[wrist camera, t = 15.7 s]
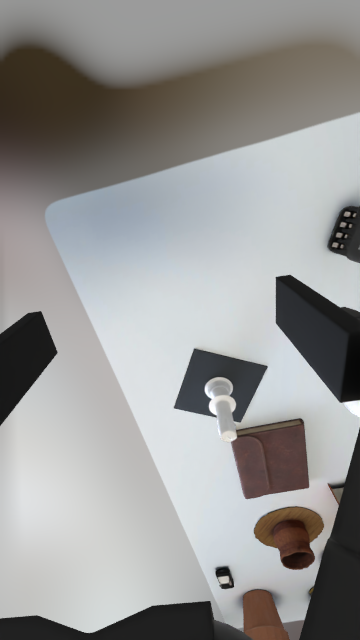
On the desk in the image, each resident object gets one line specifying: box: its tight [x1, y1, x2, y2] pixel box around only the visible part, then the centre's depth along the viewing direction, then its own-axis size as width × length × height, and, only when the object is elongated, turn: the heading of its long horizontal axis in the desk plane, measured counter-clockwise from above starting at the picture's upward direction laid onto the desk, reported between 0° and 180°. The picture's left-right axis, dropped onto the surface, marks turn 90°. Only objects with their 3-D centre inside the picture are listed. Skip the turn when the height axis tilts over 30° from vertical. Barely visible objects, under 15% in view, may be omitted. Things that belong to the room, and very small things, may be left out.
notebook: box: [231, 419, 309, 499], centre depth 57 cm, size 15×20×2 cm
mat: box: [174, 349, 267, 422], centre depth 51 cm, size 14×14×1 cm
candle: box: [205, 377, 237, 442], centre depth 45 cm, size 5×5×12 cm
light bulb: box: [343, 400, 360, 417], centre depth 44 cm, size 7×7×11 cm
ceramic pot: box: [254, 507, 324, 570], centre depth 66 cm, size 18×18×7 cm
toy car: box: [216, 569, 234, 589], centre depth 77 cm, size 10×4×3 cm, turn 15°
